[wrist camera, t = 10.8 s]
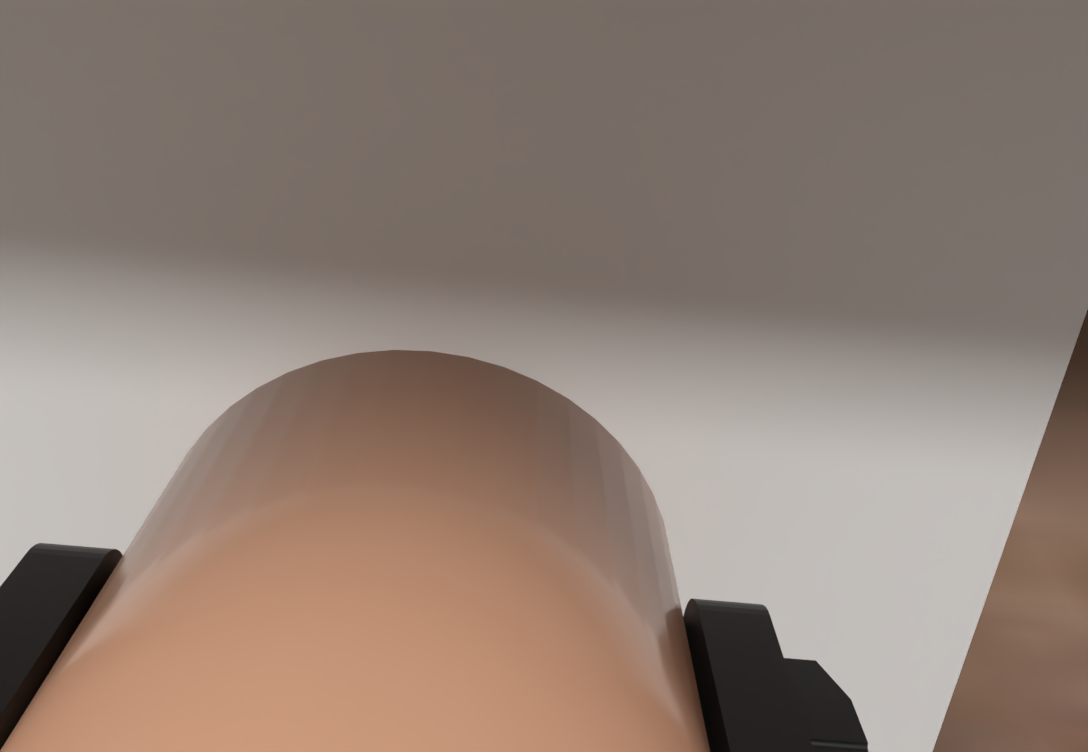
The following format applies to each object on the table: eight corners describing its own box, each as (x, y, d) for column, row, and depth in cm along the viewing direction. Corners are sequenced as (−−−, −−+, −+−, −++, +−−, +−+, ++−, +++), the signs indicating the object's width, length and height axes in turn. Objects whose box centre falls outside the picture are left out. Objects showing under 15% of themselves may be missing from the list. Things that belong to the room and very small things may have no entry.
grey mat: (1177, -35, 10) (1207, -31, 10) (851, 926, 16) (859, 956, 16) (-288, -206, 10) (-331, -212, 9) (-70, 864, 15) (-89, 893, 15)
